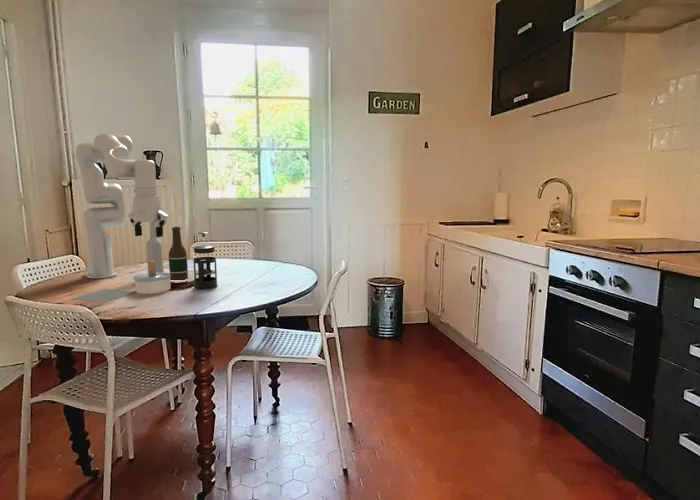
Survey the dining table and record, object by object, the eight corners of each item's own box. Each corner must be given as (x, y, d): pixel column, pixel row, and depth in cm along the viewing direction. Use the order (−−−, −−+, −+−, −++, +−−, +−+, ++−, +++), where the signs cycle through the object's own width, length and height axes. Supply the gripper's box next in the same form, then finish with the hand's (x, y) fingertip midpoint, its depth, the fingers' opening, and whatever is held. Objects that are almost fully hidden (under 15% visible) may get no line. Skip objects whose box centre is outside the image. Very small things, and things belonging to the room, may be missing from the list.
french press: (198, 283, 194) (196, 230, 190) (220, 283, 194) (218, 230, 190) (189, 290, 182) (186, 233, 178) (213, 290, 182) (210, 233, 179)
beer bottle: (191, 279, 201) (188, 226, 198) (183, 283, 194) (180, 228, 190) (175, 279, 202) (171, 226, 198) (166, 283, 195) (162, 227, 191)
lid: (125, 280, 175) (124, 263, 174) (149, 273, 188) (148, 257, 187) (155, 282, 172) (154, 265, 170) (177, 275, 185) (176, 258, 183)
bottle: (145, 278, 204) (140, 216, 199) (156, 275, 210) (152, 215, 206) (156, 279, 201) (152, 217, 197) (167, 276, 208) (163, 215, 203)
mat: (70, 300, 167) (70, 298, 167) (104, 290, 182) (104, 288, 182) (106, 303, 163) (106, 302, 162) (137, 293, 178) (137, 291, 178)
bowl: (129, 294, 176) (128, 280, 175) (150, 286, 188) (149, 273, 187) (156, 296, 173) (155, 282, 172) (176, 288, 185) (175, 275, 184)
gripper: (120, 192, 173) (123, 236, 176) (158, 193, 169) (161, 238, 171) (134, 191, 180) (137, 234, 183) (171, 192, 176) (174, 235, 179)
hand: (149, 236), depth 177 cm, fingers open, 9 cm apart
